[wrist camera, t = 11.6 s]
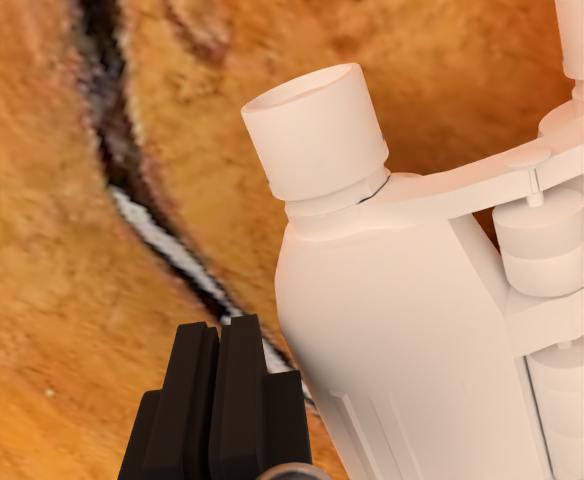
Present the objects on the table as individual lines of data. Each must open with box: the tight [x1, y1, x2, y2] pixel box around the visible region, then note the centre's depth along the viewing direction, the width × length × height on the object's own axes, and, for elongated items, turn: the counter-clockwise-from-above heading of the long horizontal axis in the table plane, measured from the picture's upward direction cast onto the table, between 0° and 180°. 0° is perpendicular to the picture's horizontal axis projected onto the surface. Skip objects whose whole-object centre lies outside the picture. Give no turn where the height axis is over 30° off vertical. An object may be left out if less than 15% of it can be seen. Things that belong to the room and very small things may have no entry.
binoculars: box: [240, 0, 584, 480], centre depth 12 cm, size 10×16×5 cm, turn 21°
